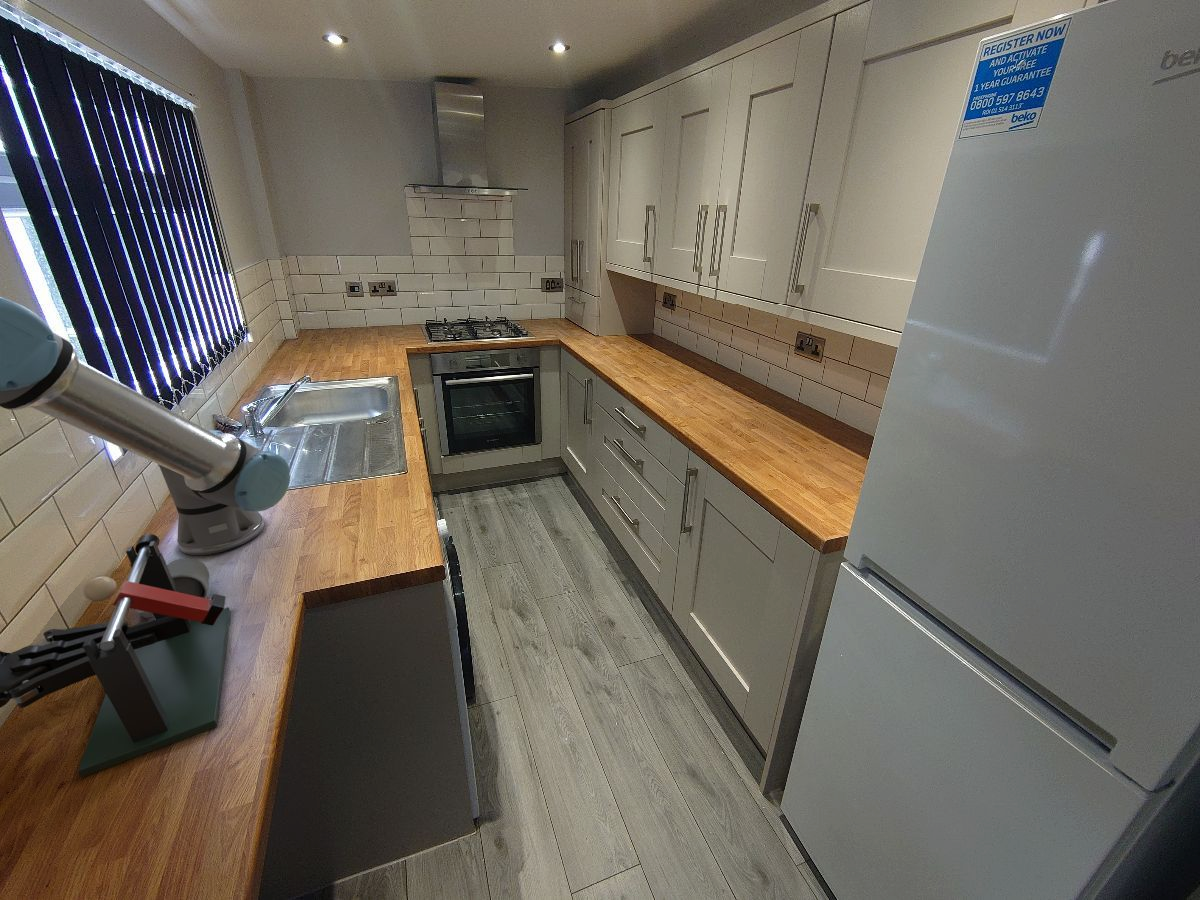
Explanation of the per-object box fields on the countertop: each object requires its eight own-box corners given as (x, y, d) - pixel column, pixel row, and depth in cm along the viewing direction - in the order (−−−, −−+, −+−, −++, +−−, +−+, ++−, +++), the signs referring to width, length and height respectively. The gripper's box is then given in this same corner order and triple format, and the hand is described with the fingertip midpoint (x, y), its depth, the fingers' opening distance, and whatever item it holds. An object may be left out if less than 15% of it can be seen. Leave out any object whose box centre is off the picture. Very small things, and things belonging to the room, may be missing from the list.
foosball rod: (220, 569, 90) (107, 540, 80) (231, 551, 90) (119, 520, 80) (204, 672, 69) (49, 650, 60) (218, 649, 69) (65, 623, 60)
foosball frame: (128, 642, 85) (84, 553, 78) (230, 612, 91) (197, 527, 84) (81, 777, 64) (14, 672, 57) (217, 726, 70) (172, 626, 63)
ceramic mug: (215, 581, 99) (201, 547, 96) (214, 605, 93) (199, 570, 90) (144, 603, 94) (127, 568, 91) (138, 630, 88) (119, 593, 84)
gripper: (-6, 676, 72) (200, 615, 83) (-53, 751, 62) (189, 671, 73) (-34, 634, 69) (184, 576, 80) (-88, 706, 59) (171, 629, 69)
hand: (186, 621), depth 76 cm, fingers closed
